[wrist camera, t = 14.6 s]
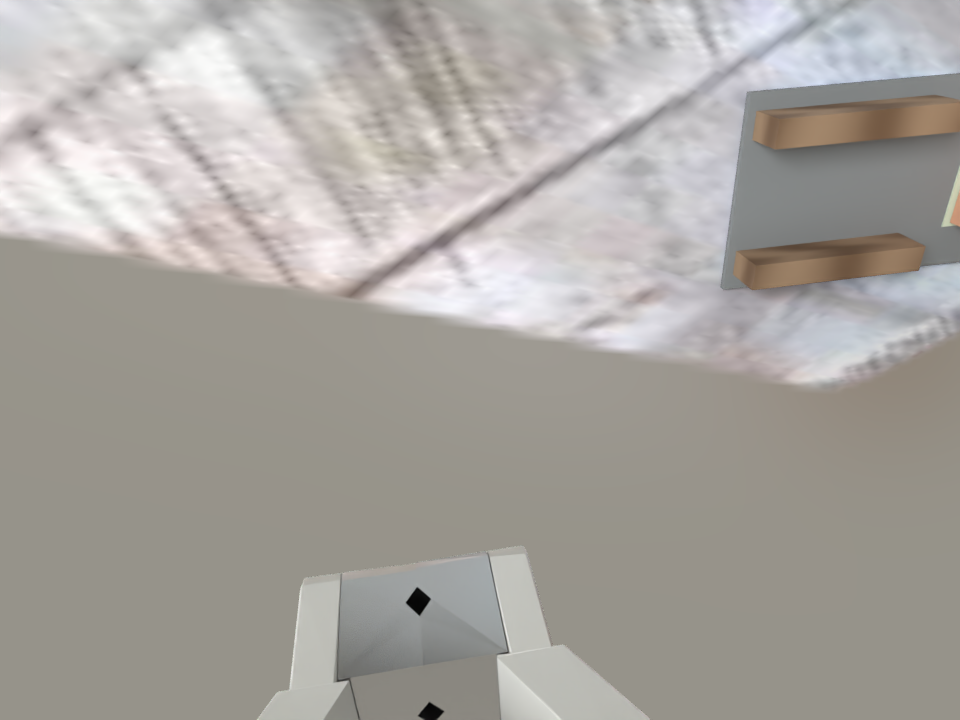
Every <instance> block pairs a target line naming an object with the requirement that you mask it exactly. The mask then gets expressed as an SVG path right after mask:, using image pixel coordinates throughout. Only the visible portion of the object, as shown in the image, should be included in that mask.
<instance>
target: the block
mask: <svg viewBox="0 0 960 720" xmlns="http://www.w3.org/2000/svg"><path fill="white" fill-rule="evenodd" d="M950 223H952V224H955V225H957V226H959V227H960V191H959V194H958V198H957V201H956V204H955V207H954V211H953V214H952V217H951V220H950Z"/></svg>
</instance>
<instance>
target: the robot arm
mask: <svg viewBox="0 0 960 720" xmlns="http://www.w3.org/2000/svg"><path fill="white" fill-rule="evenodd" d="M257 720H651V719H649V718H648V717H647V716H646V715H645V714H644V713H643V712H641V711H640V710H639V709H638V708H637V707H636V706H635V705H633V704H632V703H631V702H630V701H629V700H628V699H626V698H625V697H624V696H623V695H622V694H621V693H620V692H618V691H617V690H616V689H615V688H614V687H613V686H612V685H611V684H609V683H608V682H607V681H606V680H605V679H604V678H602V677H601V676H600V675H599V674H598V673H597V672H595V671H594V670H593V669H592V668H591V667H590V666H589V665H588V664H586V663H585V662H584V661H583V660H582V659H581V658H580V657H578V656H577V655H576V654H575V653H574V652H573V651H571V650H570V649H569V648H568V647H567V646H566V645H557V646H553V643H552V640H551V636H550V632H549V629H548V626H547V622H546V618H545V615H544V611H543V607H542V604H541V601H540V597H539V593H538V590H537V586H536V583H535V579H534V575H533V572H532V568H531V565H530V562H529V558H528V554H527V551H526V550H525V548H524V547H523V546H516V547H510V548H503V549H497V550H491V551H488V552H487V553H486V551H483V552H477V553H472V554H465V555H458V556H452V557H446V558H440V559H434V560H428V561H421V562H416V563H414V564H406V565H398V566H390V567H382V568H374V569H366V570H358V571H350V572H343V573H339V574H332V575H323V576H315V577H308V578H304V581H303V583H302V586H301V589H300V597H299V607H298V615H297V624H296V633H295V643H294V652H293V661H292V670H291V679H290V688H289V690H286V691H281V692H277V693H276V695H275V696H274V697H273V699H272V700H271V701H270V703H269V704H268V705H267V707H266V708H265V709H264V711H263V712H262V713H261V715H260V716H259V717H258V719H257Z"/></svg>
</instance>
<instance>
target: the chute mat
mask: <svg viewBox="0 0 960 720" xmlns="http://www.w3.org/2000/svg"><path fill="white" fill-rule="evenodd" d="M927 95H939V96H944V97H949V98H953V99H958V100H960V73H957V74H945V75H934V76H922V77H911V78H899V79H888V80H877V81H865V82H854V83H842V84H831V85H820V86H808V87H797V88H785V89H774V90H763V91H751V92H747V97H746V104H745V112H744V119H743V127H742V134H741V141H740V149H739V156H738V163H737V171H736V178H735V185H734V193H733V200H732V207H731V215H730V222H729V229H728V237H727V244H726V252H725V259H724V266H723V274H722V281H721V288H722V289H723V290H724V289H733V288H741V287H748V286H746V285H745V284H744V283H743V282H741V281H740V280H739V279H738V278H737V277H735V276H734V275H733V270H734V263H735V256H736V251H740V250H749V249H758V248H767V247H776V246H785V245H794V244H803V243H812V242H820V241H829V240H838V239H847V238H856V237H865V236H874V235H883V234H892V233H900V234H902V235H904V236H906V237H908V238H910V239H912V240H914V241H916V242H918V243H920V244H922V245H924V246H926V247H925V251H924V254H923V258H922V261H921V264H920V266H928V265H936V264H945V263H953V262H960V227H959V226H957V225H955V224H952V223H950V220H951V217H952V214H953V211H954V207H955V204H956V201H957V198H958V194H959V191H960V132H951V133H941V134H931V135H921V136H910V137H900V138H890V139H879V140H869V141H859V142H848V143H838V144H828V145H817V146H807V147H797V148H787V149H776V150H775V149H772V148H770V147H768V146H765V145H763V144H761V143H758V142H756V141H754V140H752V139H753V132H754V125H755V118H756V111H761V110H772V109H783V108H794V107H806V106H817V105H828V104H839V103H850V102H861V101H872V100H883V99H894V98H905V97H916V96H927Z"/></svg>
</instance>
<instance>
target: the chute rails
mask: <svg viewBox="0 0 960 720" xmlns="http://www.w3.org/2000/svg"><path fill="white" fill-rule="evenodd" d="M951 132H960V100H958V99H953V98H949V97H944V96H939V95H927V96H916V97H905V98H894V99H883V100H872V101H861V102H850V103H839V104H828V105H817V106H806V107H794V108H783V109H772V110H761V111H756V118H755V125H754V132H753V139H752V140H754V141H756V142H758V143H761V144H763V145H765V146H768V147H770V148H772V149H775V150H776V149H787V148H797V147H807V146H817V145H828V144H838V143H848V142H859V141H869V140H879V139H890V138H900V137H910V136H921V135H931V134H941V133H951ZM925 247H926V246H924V245H922V244H920V243H918V242H916V241H914V240H912V239H910V238H908V237H906V236H904V235H902V234H900V233H892V234H883V235H874V236H865V237H856V238H847V239H838V240H829V241H820V242H812V243H803V244H794V245H785V246H776V247H767V248H758V249H749V250H740V251H736V256H735V263H734V270H733V275H734V276H735V277H737V278H738V279H739V280H740V281H741V282H743V283H744V284H745V285H746V286H748V287H749V288H750V289H751V290H758V289H766V288H775V287H783V286H792V285H800V284H809V283H817V282H825V281H834V280H842V279H851V278H859V277H868V276H876V275H885V274H893V273H901V272H910V271H918V270H919V268H920V264H921V261H922V258H923V254H924V251H925Z"/></svg>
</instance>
